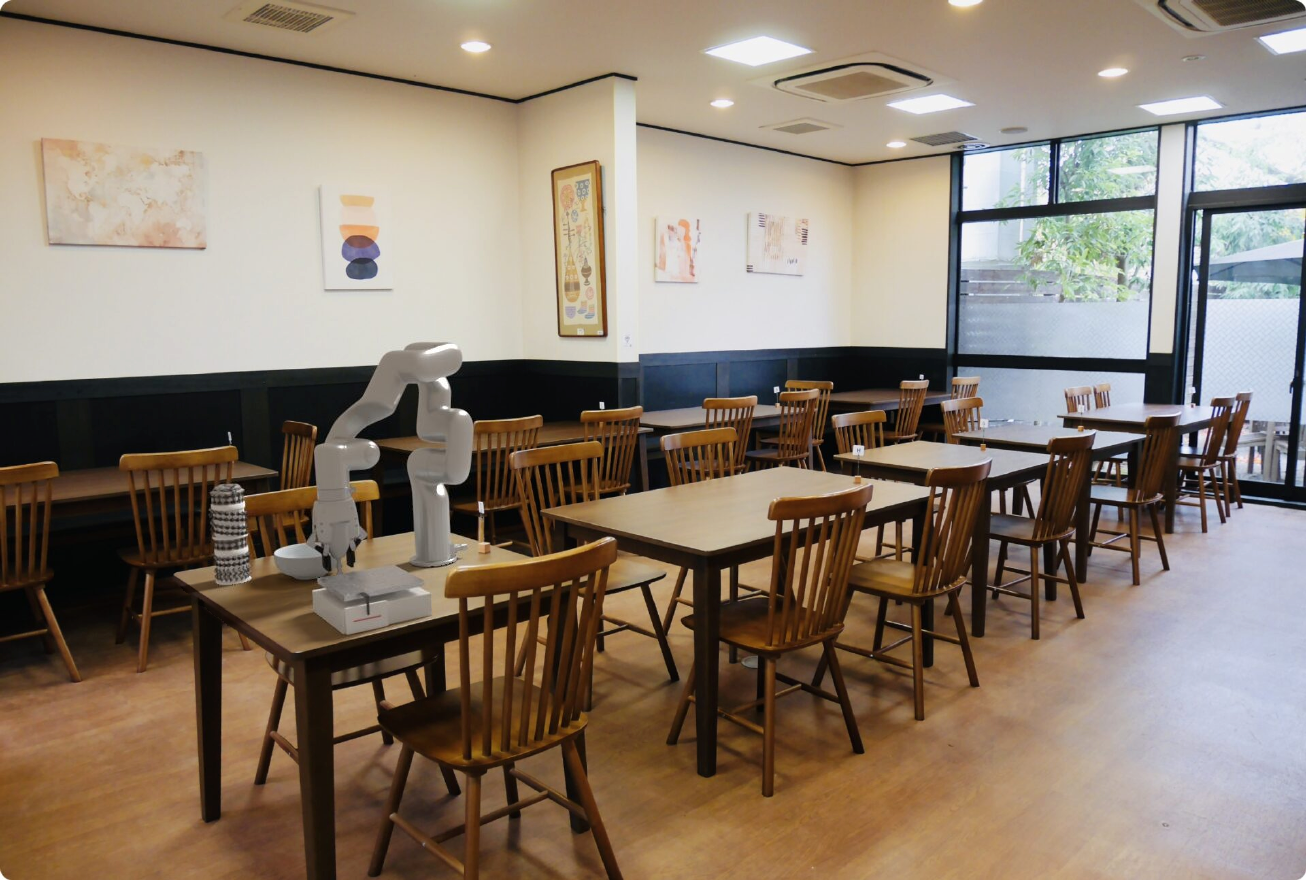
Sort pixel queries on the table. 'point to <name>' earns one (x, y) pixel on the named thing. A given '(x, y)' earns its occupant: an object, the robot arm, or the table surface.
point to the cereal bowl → (301, 561)
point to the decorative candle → (229, 534)
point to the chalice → (339, 543)
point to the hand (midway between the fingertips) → (339, 567)
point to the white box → (369, 583)
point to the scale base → (371, 609)
